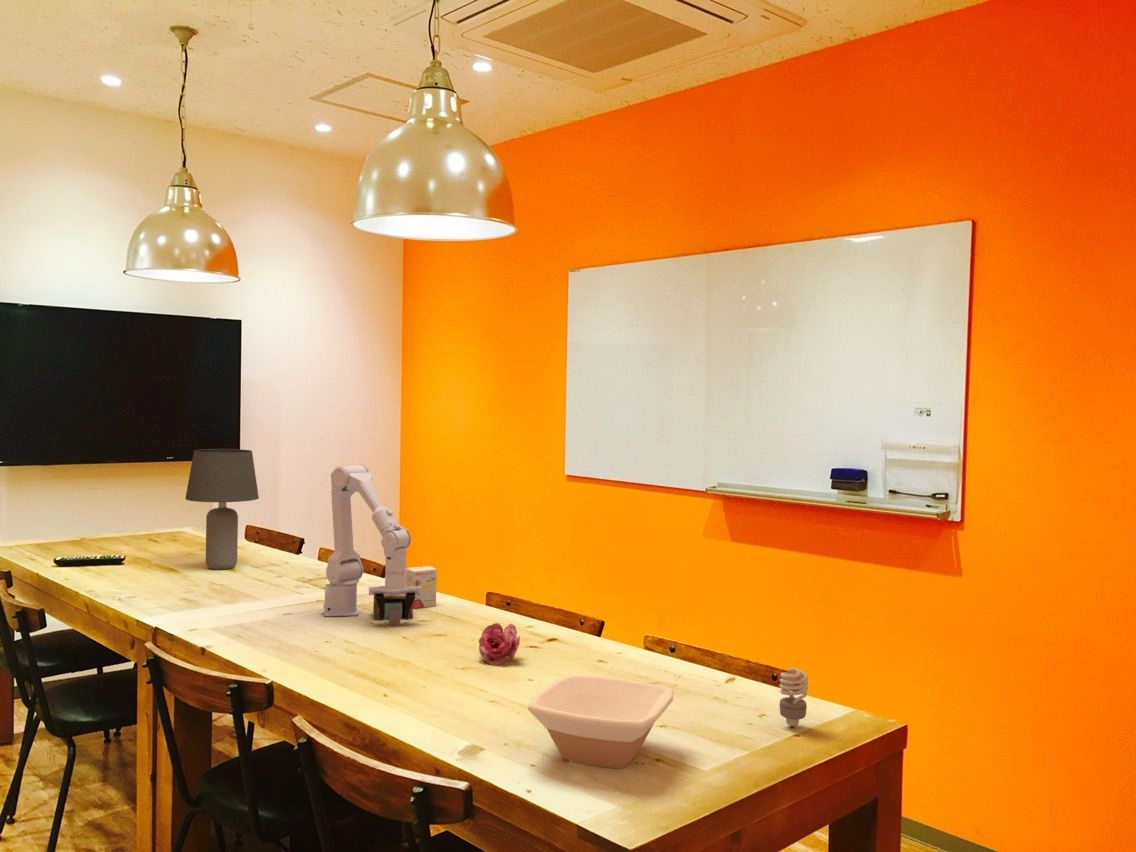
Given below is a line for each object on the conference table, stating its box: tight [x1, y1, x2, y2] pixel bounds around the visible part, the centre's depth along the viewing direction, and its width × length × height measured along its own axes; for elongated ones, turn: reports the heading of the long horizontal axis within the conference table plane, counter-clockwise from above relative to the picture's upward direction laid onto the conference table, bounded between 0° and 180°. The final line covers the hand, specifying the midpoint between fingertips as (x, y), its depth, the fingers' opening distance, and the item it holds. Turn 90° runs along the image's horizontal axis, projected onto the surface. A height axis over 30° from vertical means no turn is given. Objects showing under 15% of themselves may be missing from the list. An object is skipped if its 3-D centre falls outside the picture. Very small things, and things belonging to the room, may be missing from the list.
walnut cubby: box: [372, 594, 414, 621], centre depth 273 cm, size 11×8×7 cm
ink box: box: [405, 565, 438, 610], centre depth 287 cm, size 9×5×12 cm, turn 126°
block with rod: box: [384, 599, 403, 627], centre depth 268 cm, size 5×14×4 cm, turn 13°
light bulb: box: [778, 667, 809, 728], centre depth 188 cm, size 6×6×12 cm
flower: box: [478, 622, 521, 666], centre depth 230 cm, size 11×10×10 cm
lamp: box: [185, 448, 260, 571], centre depth 339 cm, size 25×25×43 cm
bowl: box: [527, 673, 674, 769], centre depth 172 cm, size 24×25×11 cm
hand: (394, 619), depth 263 cm, fingers open, 6 cm apart
